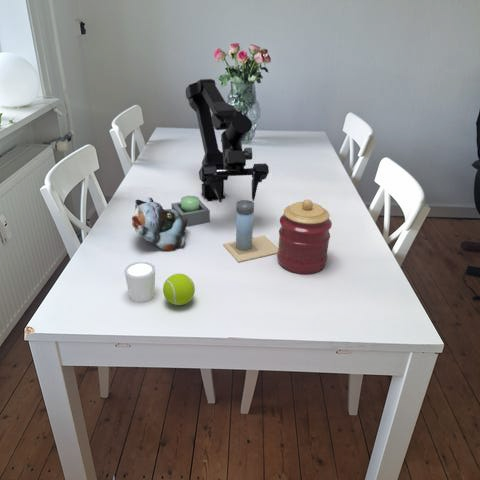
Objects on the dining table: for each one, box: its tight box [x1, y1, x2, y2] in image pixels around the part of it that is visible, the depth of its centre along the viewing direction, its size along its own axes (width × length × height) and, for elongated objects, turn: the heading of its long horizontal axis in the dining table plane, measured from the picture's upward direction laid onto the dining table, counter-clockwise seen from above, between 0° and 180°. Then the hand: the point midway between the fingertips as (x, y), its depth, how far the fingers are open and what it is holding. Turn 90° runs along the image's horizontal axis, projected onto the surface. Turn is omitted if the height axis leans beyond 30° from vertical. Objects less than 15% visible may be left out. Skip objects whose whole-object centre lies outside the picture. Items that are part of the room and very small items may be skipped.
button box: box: [170, 199, 211, 228], centre depth 141 cm, size 9×9×4 cm
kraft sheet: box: [222, 234, 279, 264], centre depth 127 cm, size 13×10×1 cm
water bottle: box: [235, 199, 255, 251], centre depth 124 cm, size 5×5×13 cm
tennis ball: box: [162, 273, 196, 306], centre depth 103 cm, size 7×7×7 cm
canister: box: [276, 198, 333, 275], centre depth 117 cm, size 13×13×18 cm
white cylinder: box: [123, 261, 156, 303], centre depth 105 cm, size 7×7×7 cm
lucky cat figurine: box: [131, 196, 187, 252], centre depth 127 cm, size 15×12×14 cm
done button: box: [180, 195, 200, 213], centre depth 140 cm, size 5×5×4 cm
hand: (237, 201), depth 129 cm, fingers open, 9 cm apart
